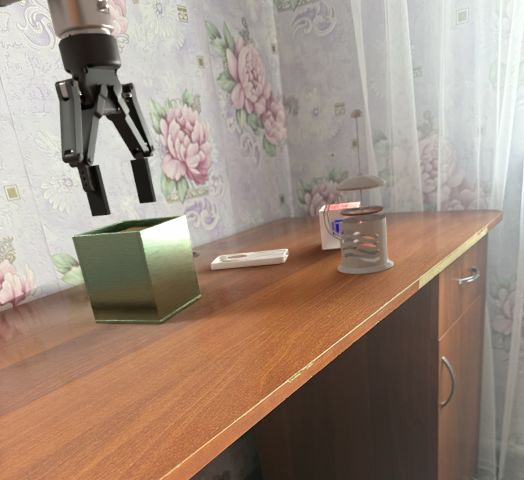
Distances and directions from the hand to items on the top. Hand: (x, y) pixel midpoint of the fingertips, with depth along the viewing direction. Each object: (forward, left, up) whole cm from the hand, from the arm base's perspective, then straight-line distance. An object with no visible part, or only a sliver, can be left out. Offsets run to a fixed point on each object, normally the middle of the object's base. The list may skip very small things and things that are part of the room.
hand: (126, 208), depth 74 cm
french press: (+29, +23, -16) cm, 40 cm away
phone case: (+5, +29, -16) cm, 34 cm away
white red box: (+21, +42, -16) cm, 50 cm away
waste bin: (0, 0, -16) cm, 16 cm away
